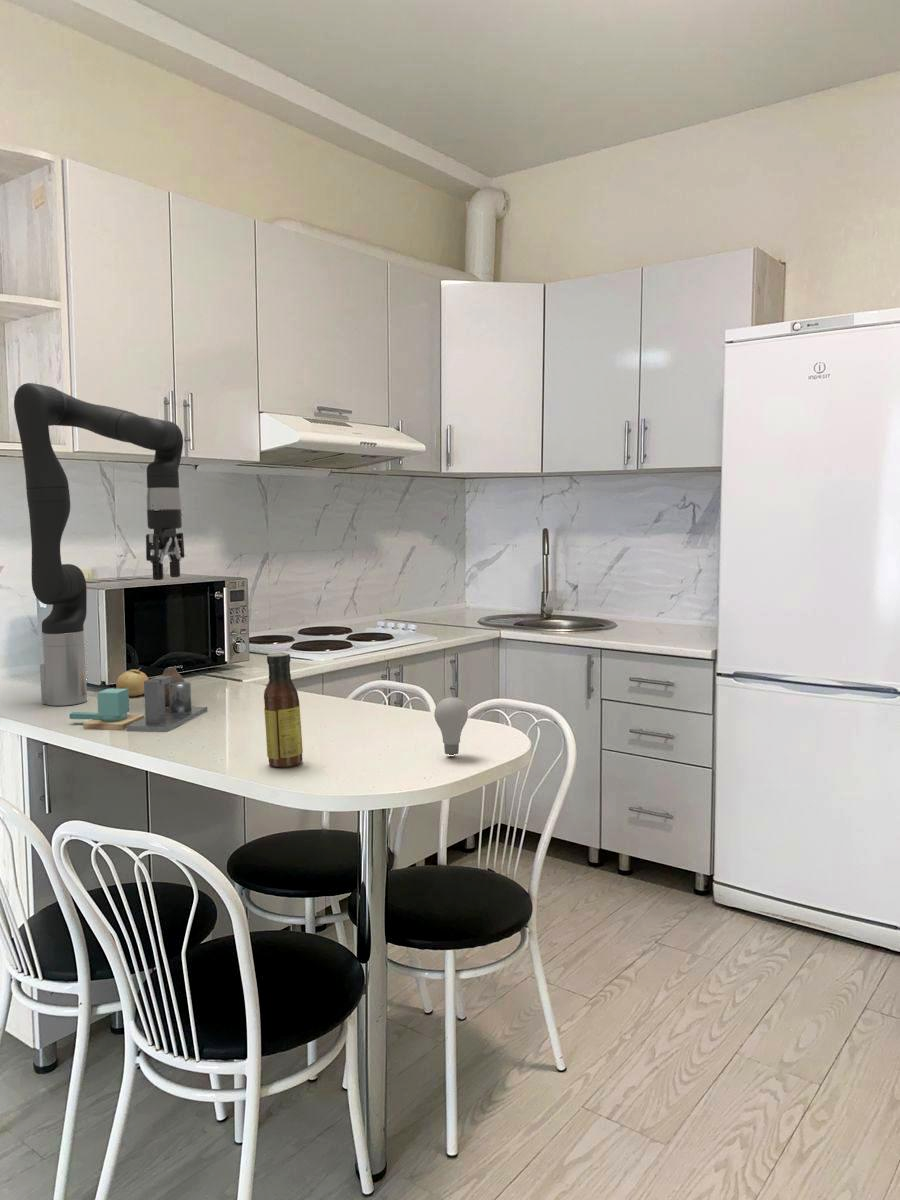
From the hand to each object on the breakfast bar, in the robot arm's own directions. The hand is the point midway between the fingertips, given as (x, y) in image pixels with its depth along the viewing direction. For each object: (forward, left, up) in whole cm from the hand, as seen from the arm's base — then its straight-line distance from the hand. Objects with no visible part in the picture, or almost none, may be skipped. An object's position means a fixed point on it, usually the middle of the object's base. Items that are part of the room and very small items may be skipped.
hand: (166, 578), depth 211 cm
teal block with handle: (-8, -19, -29) cm, 35 cm away
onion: (-16, +12, -30) cm, 36 cm away
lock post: (+6, -14, -30) cm, 34 cm away
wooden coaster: (-4, -19, -30) cm, 36 cm away
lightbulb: (+72, -37, -30) cm, 86 cm away
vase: (-1, +2, -30) cm, 30 cm away
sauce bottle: (+43, -45, -30) cm, 69 cm away
